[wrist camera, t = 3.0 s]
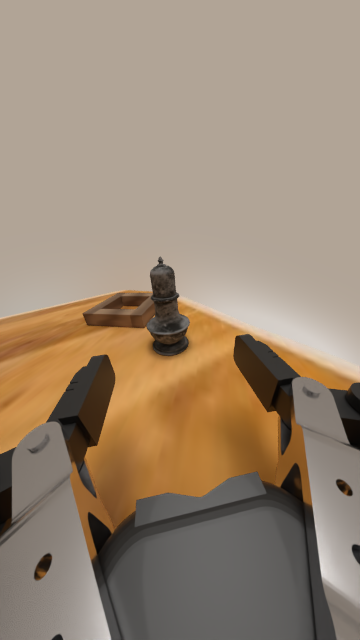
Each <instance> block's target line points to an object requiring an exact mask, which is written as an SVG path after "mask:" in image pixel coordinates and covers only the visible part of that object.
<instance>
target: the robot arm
mask: <svg viewBox="0 0 360 640" xmlns="http://www.w3.org/2000/svg"><path fill="white" fill-rule="evenodd" d="M234 361H235V363H236V365H237V367H238V368H239V370H240V371H241V373H242V374H243V376H244V377H245V379H246V380H247V382H248V383H249V385H250V386H251V388H252V389H253V391H254V392H255V394H256V395H257V397H258V398H259V400H260V401H261V403H262V405H263V406H264V408H265V409H266V411H267V412H272V411H277V413H278V414H279V417H278V464H277V469H276V476H275V485H273V484H271V483H268V482H264V481H261V479H260V477H259V475H258V472H253V473H249V474H245V475H241V476H237V477H232V478H229V479H227V480H226V481H225V482H223V483H222V484H220V485H219V486H217V487H216V488H215V489H213V490H212V491H210V492H209V493H208V494H206V495H205V496H203V497H193V496H186V495H180V494H173V493H165V494H161V495H156V496H152V497H148V498H144V499H139V500H137V501H136V511H135V512H133V513H132V514H131V515H129V516H128V517H127V518H126V519H125V520H124V521H123V522H122V523H121V524H120V525H119V526H118V527H117V528H116V529H114V527H113V524H112V521H111V519H110V517H109V514H108V512H107V510H106V508H105V507H104V505H103V503H102V501H101V499H100V496H99V493H98V490H97V488H96V485H95V482H94V479H93V477H92V474H91V471H90V468H89V466H88V463H87V460H86V458H85V454H86V451H87V448H88V447H92V446H97V444H98V441H99V437H100V434H101V430H102V427H103V423H104V420H105V416H106V413H107V409H108V406H109V402H110V399H111V395H112V392H113V388H114V385H115V373H114V370H113V367H112V365H111V362H110V360H109V357H108V355H100V356H93V357H92V358H91V359H90V361H89V363H88V365H87V366H85V367H82V368H81V369H80V370H79V371H78V372H77V373H76V374H75V375H74V377H73V379H72V380H71V382H70V384H69V385H68V387H67V389H66V392H64V394H63V395H62V397H61V399H60V400H59V402H58V404H57V405H56V407H55V409H54V410H53V412H52V414H51V415H50V417H49V419H48V420H47V422H46V423H44V424H42V425H40V426H38V427H37V428H35V429H34V430H32V431H31V432H30V433H28V434H27V435H26V436H25V437H24V438H23V439H22V440H21V442H20V443H19V444H18V446H17V447H15V448H13V449H11V450H9V451H7V452H4V453H2V454H0V640H360V383H354V384H352V385H351V387H350V388H349V390H348V391H346V390H337V389H328V388H326V387H325V386H324V385H323V384H321V383H319V382H318V381H316V380H313V379H310V378H306V377H301V376H299V375H298V374H297V373H296V372H295V371H294V370H293V369H292V368H291V367H290V366H289V365H288V364H287V363H285V362H284V361H283V360H282V359H281V358H280V357H278V355H277V354H276V353H275V352H273V350H272V349H270V348H269V347H268V346H267V345H266V344H264V343H262V342H260V341H256V340H255V339H254V338H253V337H252V336H251V335H249V334H246V335H239V336H236V338H235V346H234Z"/></svg>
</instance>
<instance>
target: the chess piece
mask: <svg viewBox="0 0 360 640" xmlns="http://www.w3.org/2000/svg"><path fill="white" fill-rule="evenodd" d="M158 262H159V264H158V265H157V266H156V267H154V268H153V269H152V270H151V272H150V278H151V283H152V290H153V295H152V296H151V300H153V301H154V307H155V317H154V318H152V319H151V320H150V321H149V322H148V323H147V329H148V330H149V331H150V333H151V335H152V336H153V338H154V339H155V341H154V343H153V349H154V351H155V352H156V353H158V354H161V355H166V356H171V355H176V354H179V353H181V352H183V351H184V350H185V349H186V348H187V347H188V344H189V342H188V339H187V338H186V337H185V334H186V332H187V329H188V326H189V323H190V322H189V319H188V318H187V317H186V316H184V315H181V314H179V311H178V304H177V298H178V297H179V294H178V293H176V288H175V276H174V271H173V269H172V268H171V267H169V266H166V265H165V264H163V260H162V258H161V257H159V260H158Z"/></svg>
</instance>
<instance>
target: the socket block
mask: <svg viewBox="0 0 360 640" xmlns="http://www.w3.org/2000/svg"><path fill="white" fill-rule="evenodd" d="M152 295H153V293H117V294H115V295H114V296H112V297H110V298H108V299H107V300H105V301H103V302H102V303H100V304H98V305H96V306H95V307H93V308H91V309H89V310H88V311H86V312H84V313H83V316H84V318H85V321H86V323H87V325H97V326H118V327H138V328H144V327H145V326H146V325H147V323H148V322H149V321H150V320H151V318H152V317H153V316H154V315H155V307H154V301H153V300H151V296H152ZM122 306H139V307H138V308H137V309H136V310H131V309H120V308H121V307H122Z"/></svg>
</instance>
